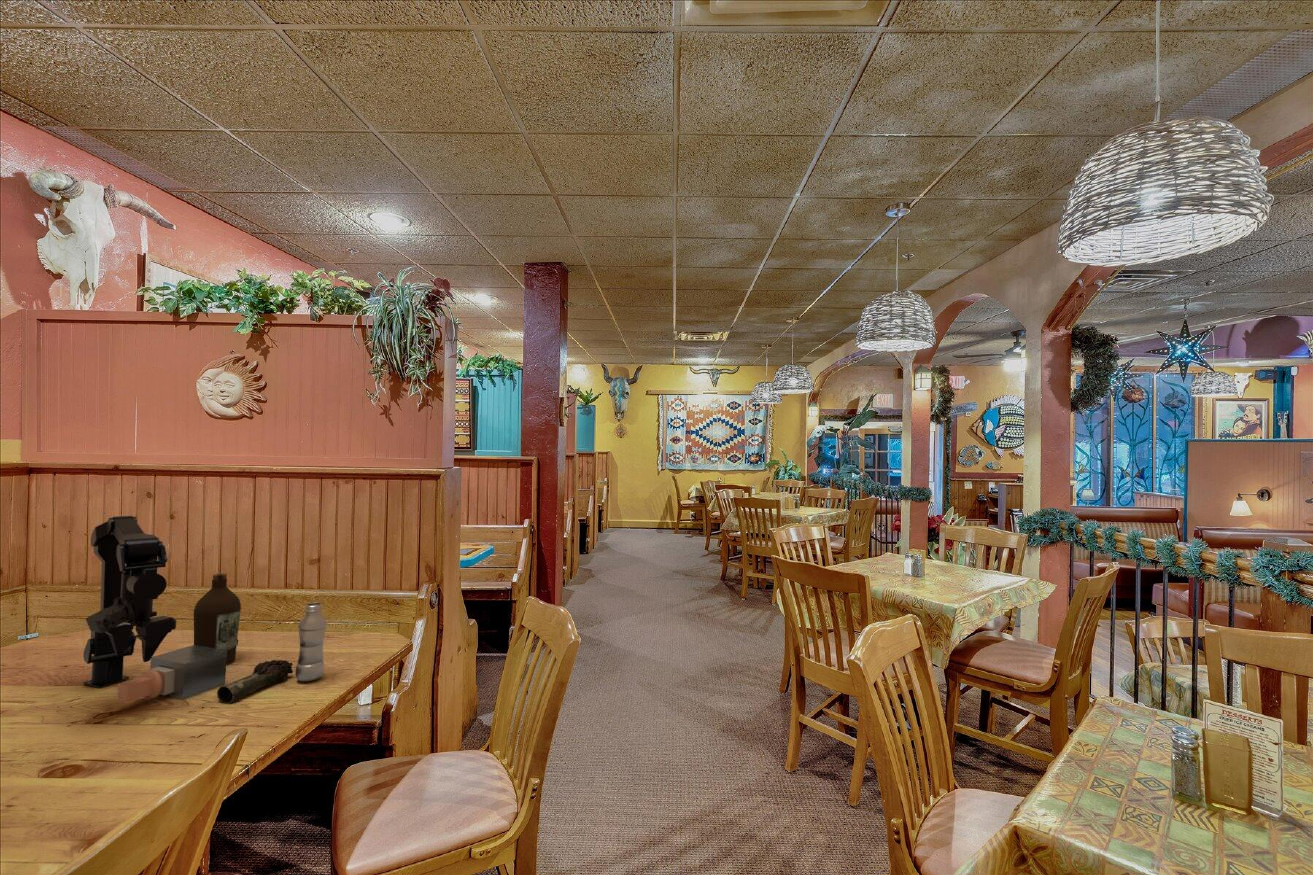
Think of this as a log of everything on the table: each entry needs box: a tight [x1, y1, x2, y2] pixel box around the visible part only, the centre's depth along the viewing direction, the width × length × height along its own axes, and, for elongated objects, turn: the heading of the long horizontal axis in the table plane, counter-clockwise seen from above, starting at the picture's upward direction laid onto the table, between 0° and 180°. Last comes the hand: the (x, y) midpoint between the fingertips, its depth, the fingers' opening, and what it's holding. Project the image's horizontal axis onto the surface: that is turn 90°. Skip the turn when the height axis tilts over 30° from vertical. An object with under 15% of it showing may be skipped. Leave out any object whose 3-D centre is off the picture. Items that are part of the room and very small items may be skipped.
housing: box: [149, 644, 227, 700], centre depth 143 cm, size 12×10×8 cm
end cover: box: [116, 666, 176, 704], centre depth 137 cm, size 6×15×6 cm, turn 162°
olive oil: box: [193, 572, 242, 666], centre depth 160 cm, size 11×11×25 cm
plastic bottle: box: [294, 602, 328, 682], centre depth 150 cm, size 6×7×20 cm
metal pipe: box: [216, 659, 295, 705], centre depth 144 cm, size 18×7×6 cm, turn 166°
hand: (132, 658), depth 131 cm, fingers open, 9 cm apart
